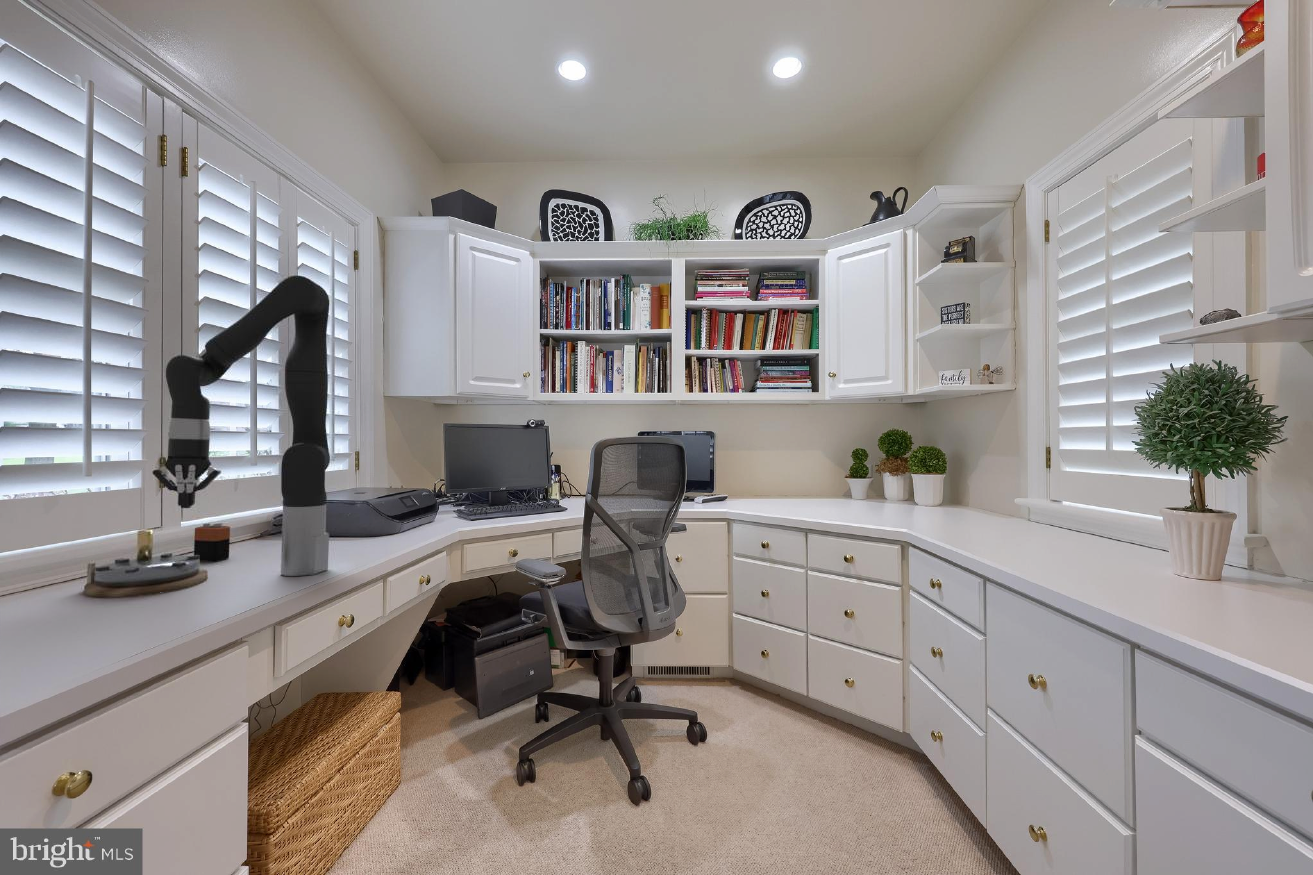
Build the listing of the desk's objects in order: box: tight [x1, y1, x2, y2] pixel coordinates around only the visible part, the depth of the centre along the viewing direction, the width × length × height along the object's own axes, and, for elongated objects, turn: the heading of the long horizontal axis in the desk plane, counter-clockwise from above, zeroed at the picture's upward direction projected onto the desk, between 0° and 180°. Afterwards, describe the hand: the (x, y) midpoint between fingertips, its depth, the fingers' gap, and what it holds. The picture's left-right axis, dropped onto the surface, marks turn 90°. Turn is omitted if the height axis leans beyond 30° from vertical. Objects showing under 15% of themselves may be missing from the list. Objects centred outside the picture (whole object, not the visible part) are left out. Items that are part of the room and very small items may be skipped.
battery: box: [193, 522, 231, 563], centre depth 142 cm, size 4×7×10 cm, turn 85°
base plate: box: [83, 562, 209, 599], centre depth 118 cm, size 20×20×6 cm
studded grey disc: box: [95, 529, 201, 587], centre depth 118 cm, size 17×17×10 cm
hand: (186, 507), depth 126 cm, fingers closed
